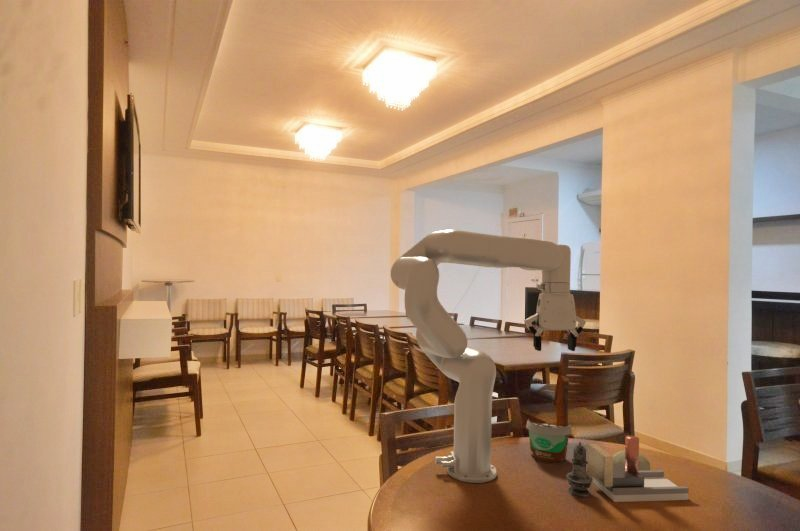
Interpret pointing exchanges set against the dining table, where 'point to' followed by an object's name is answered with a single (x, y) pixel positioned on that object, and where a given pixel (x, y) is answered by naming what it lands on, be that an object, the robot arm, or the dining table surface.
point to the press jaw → (616, 466)
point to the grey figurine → (579, 474)
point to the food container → (548, 442)
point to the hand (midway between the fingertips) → (554, 350)
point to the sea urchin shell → (620, 460)
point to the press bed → (648, 489)
